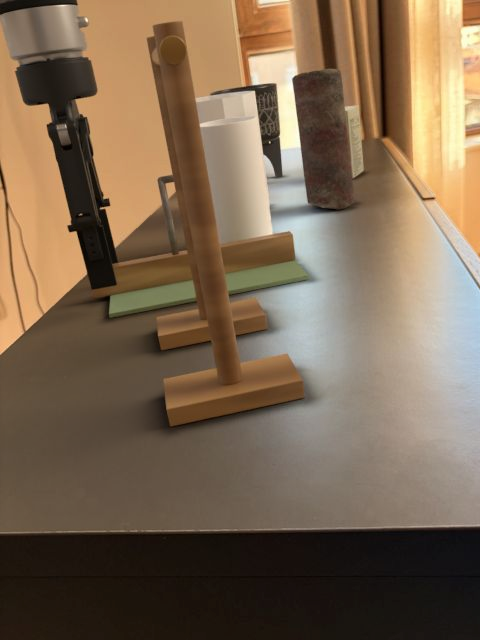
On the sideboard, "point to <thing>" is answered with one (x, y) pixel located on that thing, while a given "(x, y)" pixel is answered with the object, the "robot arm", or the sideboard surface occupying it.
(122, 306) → the mat
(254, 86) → the planter
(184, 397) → the rail stand
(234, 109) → the container
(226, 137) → the cup
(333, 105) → the candle
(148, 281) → the hanger
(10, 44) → the robot arm
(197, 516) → the sideboard surface
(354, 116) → the cosmetic box
